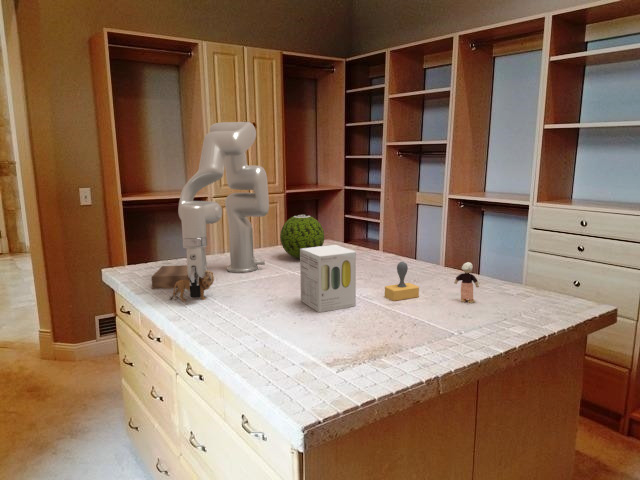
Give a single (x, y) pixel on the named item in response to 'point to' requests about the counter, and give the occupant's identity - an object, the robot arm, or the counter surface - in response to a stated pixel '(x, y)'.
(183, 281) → the lion figurine
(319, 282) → the supplement box
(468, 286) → the grandmother figurine
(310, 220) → the decorative ball
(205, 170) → the robot arm
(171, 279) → the walnut block
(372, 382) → the counter surface
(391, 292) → the rubber stamp
